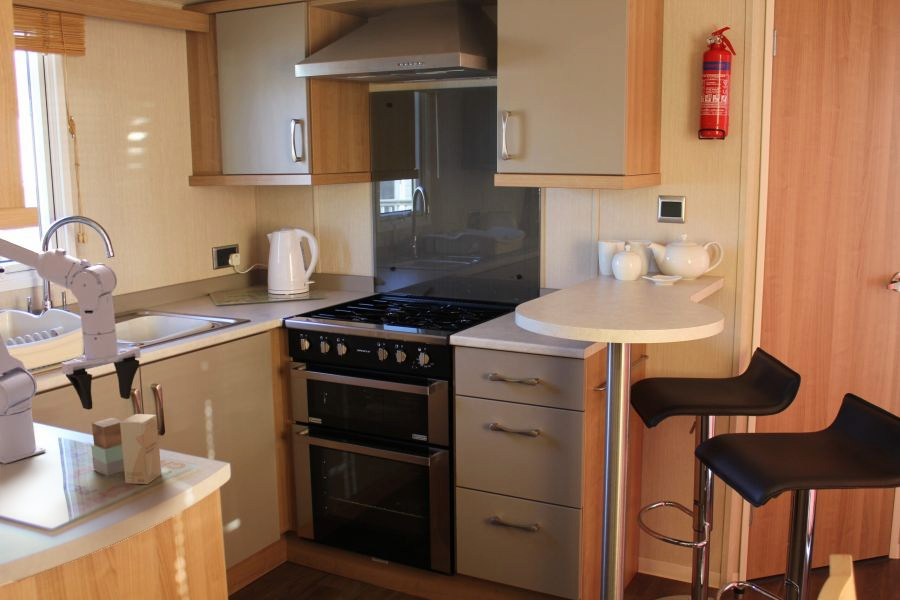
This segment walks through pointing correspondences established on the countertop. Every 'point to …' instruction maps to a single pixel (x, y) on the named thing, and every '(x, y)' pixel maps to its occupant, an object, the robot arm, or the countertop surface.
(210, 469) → the countertop surface
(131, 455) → the box
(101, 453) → the slab upper
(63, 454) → the countertop surface
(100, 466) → the slab lower
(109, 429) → the walnut cube
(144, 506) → the countertop surface
